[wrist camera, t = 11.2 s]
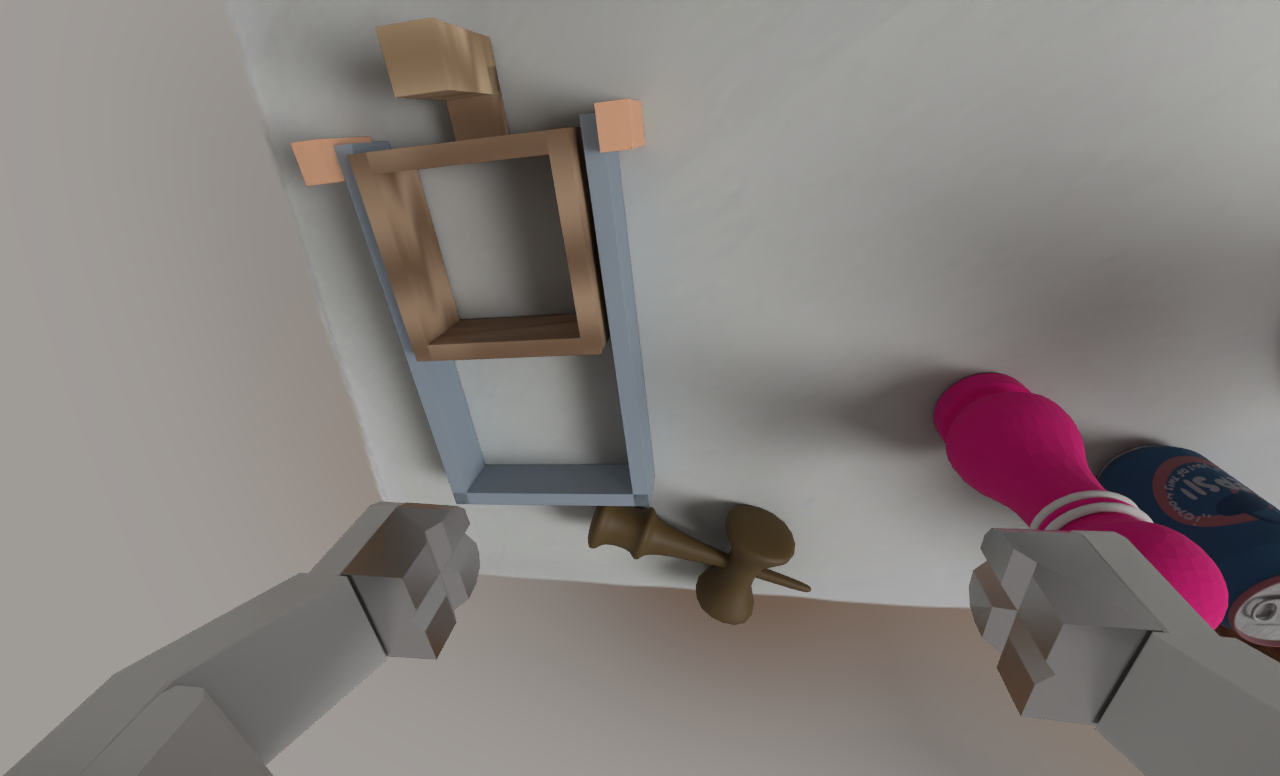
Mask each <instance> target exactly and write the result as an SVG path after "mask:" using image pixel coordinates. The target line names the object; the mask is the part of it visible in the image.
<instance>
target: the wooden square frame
mask: <svg viewBox="0 0 1280 776" xmlns="http://www.w3.org/2000/svg"><path fill="white" fill-rule="evenodd" d="M375 28H376V32H377V35H378V39H379V42H380V46H381V49H382V53H383V56H384V60H385V63H386V67H387V70H388V74H389V77H390V81H391V84H392V88H393V91H394V95H395V97H398V98H414V99H430V100H446V103H447V107H448V111H449V115H450V119H451V123H452V127H453V131H454V136H455V140H456V141H454V142H446V143H438V144H430V145H422V146H414V147H406V148H398V149H389V150H381V151H373V152H365V153H357V154H349V155H348V158H349V161H350V164H351V167H352V170H353V173H354V176H355V179H356V182H357V185H358V188H359V191H360V194H361V197H362V200H363V203H364V206H365V209H366V211H367V214H368V217H369V220H370V223H371V226H372V229H373V232H374V235H375V238H376V241H377V244H378V247H379V250H380V253H381V256H382V259H383V262H384V265H385V268H386V271H387V274H388V277H389V280H390V283H391V286H392V289H393V292H394V295H395V298H396V301H397V304H398V307H399V310H400V313H401V316H402V319H403V322H404V325H405V328H406V331H407V334H408V337H409V339H410V342H411V345H412V348H413V351H414V354H415V357H416V360H417V362H422V361H446V360H470V359H494V358H518V357H542V356H566V355H590V354H601V353H602V351H603V349H604V347H605V345H606V343H607V341H608V339H609V337H610V329H609V322H608V315H607V308H606V301H605V294H604V287H603V280H602V273H601V266H600V259H599V252H598V245H597V238H596V231H595V224H594V217H593V210H592V203H591V196H590V188H589V181H588V174H587V167H586V160H585V153H584V146H583V139H582V132H581V127H570V128H560V129H552V130H544V131H535V132H527V133H519V134H511V135H509V131H508V126H507V121H506V116H505V111H504V106H503V101H502V96H501V91H500V86H499V81H498V76H497V71H496V66H495V61H494V56H493V51H492V46H491V41H490V38H489V37H486V36H484V35H481V34H478V33H475V32H472V31H469V30H466V29H463V28H460V27H457V26H455V25H452V24H449V23H446V22H443V21H440V20H437V19H434V18H425V19H419V20H414V21H408V22H402V23H396V24H390V25H384V26H378V27H375ZM548 154H549V158H550V163H551V169H552V175H553V181H554V187H555V193H556V198H557V204H558V210H559V216H560V222H561V228H562V233H563V239H564V245H565V251H566V257H567V263H568V268H569V274H570V280H571V286H572V292H573V298H574V303H575V309H576V314H561V315H543V316H526V317H508V318H490V319H472V320H460V319H459V315H458V311H457V308H456V304H455V301H454V297H453V294H452V290H451V287H450V283H449V280H448V276H447V272H446V269H445V265H444V262H443V258H442V255H441V251H440V248H439V244H438V241H437V237H436V233H435V230H434V226H433V223H432V219H431V216H430V212H429V209H428V205H427V202H426V198H425V195H424V191H423V187H422V184H421V180H420V177H419V173H418V170H417V169H425V168H434V167H443V166H452V165H460V164H469V163H478V162H487V161H495V160H504V159H513V158H522V157H530V156H539V155H548Z"/></svg>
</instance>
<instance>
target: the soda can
mask: <svg viewBox="0 0 1280 776" xmlns="http://www.w3.org/2000/svg"><path fill="white" fill-rule="evenodd" d="M1097 480H1098V482H1099V483H1100V484H1101V485H1102V487H1103V488H1104V489H1105V490H1107V491H1109V492H1113V493H1118V494H1120V495H1123V496H1125V497H1127V498H1129V499H1130V500H1132V501H1133V502H1134V503H1135V504H1136V505H1137V506H1138V508H1139V509H1140V510H1141V511H1143V512H1144V513H1146V514H1147V515H1148V516H1149V517H1150V518H1151V520H1152V521H1153V523H1155V524H1159V525H1163V526H1166V527H1169V528H1171V529H1173V530H1175V531H1177V532H1179V533H1181V534H1183V535H1185V536H1186V537H1187V538H1189V539H1190V540H1191V541H1193V542H1194V543H1195V544H1197V545H1198V546H1199V547H1201V548H1202V549H1203V550H1204V551H1205V552H1206V554H1207V555H1208V556H1209V557H1210V558H1211V559H1212V560H1213V561H1214V563H1215V564H1216V565H1217V567H1218V568H1219V570H1220V571H1221V574H1222V576H1223V578H1224V580H1225V582H1226V586H1227V590H1228V608H1227V610H1226V613H1225V616H1224V618H1223V620H1222V622H1221V623H1220V625H1223V626H1225V627H1227V628H1229V629H1232V630H1234V631H1235V632H1236V633H1237V634H1238V635H1239V636H1240V637H1242V638H1243V639H1245V640H1247V641H1249V642H1252V643H1255V644H1258V645H1263V646H1270V647H1280V510H1278V509H1277V508H1276V507H1274V506H1273V505H1271V504H1270V503H1269V502H1267V501H1266V500H1264V499H1263V498H1261V497H1260V496H1259V495H1257V494H1256V493H1254V492H1253V491H1252V490H1250V489H1249V488H1247V487H1246V486H1244V485H1243V484H1242V483H1240V482H1239V481H1237V480H1236V479H1235V478H1233V477H1232V476H1230V475H1229V474H1228V473H1226V472H1225V471H1223V470H1222V469H1220V468H1219V467H1218V466H1216V465H1215V464H1213V463H1212V462H1211V461H1209V460H1208V459H1206V458H1205V457H1204V456H1202V455H1200V454H1199V453H1196V452H1194V451H1191V450H1188V449H1184V448H1178V447H1170V446H1158V445H1149V446H1141V447H1137V448H1133V449H1130V450H1128V451H1125V452H1123V453H1121V454H1119V455H1117V456H1116V457H1114V458H1113V459H1111V460H1110V461H1109V462H1108V463H1107V464H1106V465H1105V466H1104V467H1103V468H1102V470H1101V471H1100V473H1099V475H1098V478H1097Z"/></svg>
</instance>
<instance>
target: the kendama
mask: <svg viewBox="0 0 1280 776" xmlns="http://www.w3.org/2000/svg"><path fill="white" fill-rule="evenodd" d="M726 530H727V536H728V540H729V543H730V546H731V551H730V553H729V554H728V553H726V552H723V551H721V550H718V549H716V548H714V547H712V546H710V545H707V544H705V543H703V542H701V541H699V540H697V539H695V538H693V537H691V536H689V535H687V534H685V533H683V532H681V531H679V530H678V529H676V528H674V527H672V526H670V525H669V524H667V523H666V522H664V521H663V520H661V519H660V518H659V517H658V516H657V514H656V512H655V510H654V508H652V507H649V508H646V509H639V508H636V507H633V506H597V507H596V510H595V512H594V515H593V518H592V521H591V525H590V529H589V534H588V545H589V547H590V548H597V547H599V546H601V545H604V544H609V545H615V546H618V547H621V548H624V549H626V550H627V551H629V552H630V553H631V555H632V557H633V558H634V559H639V558H640V557H642V556H644V555H663V556H670V557H676V558H681V559H687V560H692V561H696V562H701V563H705V564H709V565H714V566H713V567H710V568H708V569H706V570H705V571H704V572H703V573H702V574H701V575H700V576H699V578H698V581H697V584H696V594H697V599H698V601H699V603H700V606H701V608H702V609H703V610H704V611H705V612H706V613H708V614H709V615H710V616H711V617H713V618H715V619H717V620H719V621H721V622H723V623H728V624H733V625H736V624H740V623H745V622H746V621H747V620H748V619H749V617H750V616H751V615H752V610H753V605H754V599H753V594H752V587H751V585H752V582H753V580H754V578H755V577H756V578H759V579H762V580H765V581H769V582H772V583H775V584H778V585H782V586H785V587H788V588H791V589H795V590H799V591H803V592H810V591H811V588H810V586H808V585H806V584H804V583H802V582H800V581H798V580H795V579H793V578H790V577H788V576H785V575H782V574H780V573H777V572H774V571H772V570H769V569H766V568H770V567H775V566H780V565H784V564H786V563H787V562H788V561H789V560H790V559H791V558H792V556H793V555H794V549H795V542H794V539H793V535H792V532H791V531H790V530H789V528H788V527H787V525H786V524H785V523H784V522H783V521H782V520H781V519H779V518H778V517H777V516H775V515H774V514H773V513H770V512H768V511H766V510H764V509H762V508H758V507H754V506H749V505H741V506H736V507H734V508H733V509H732V510H731V511H729V513H728V516H727V519H726Z"/></svg>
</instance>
